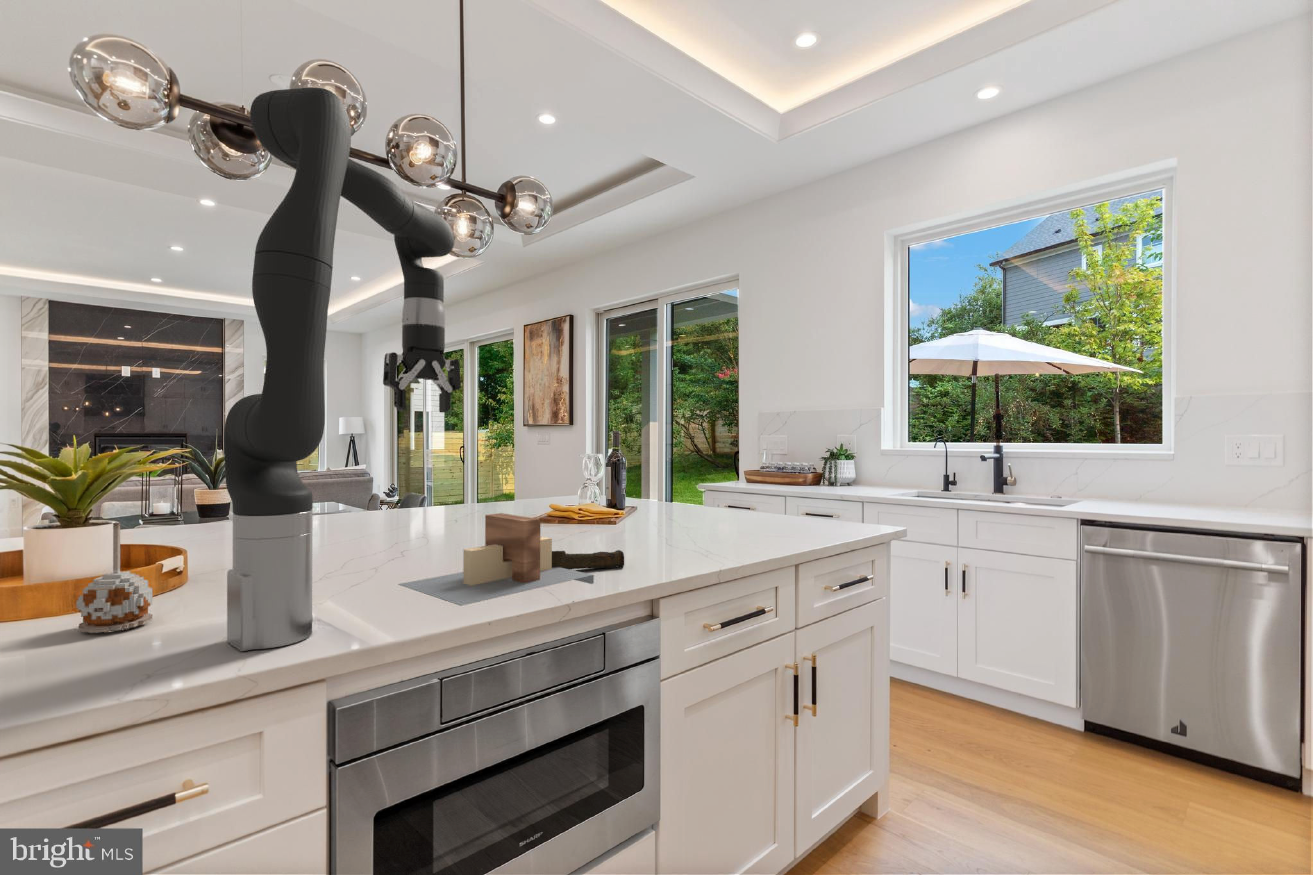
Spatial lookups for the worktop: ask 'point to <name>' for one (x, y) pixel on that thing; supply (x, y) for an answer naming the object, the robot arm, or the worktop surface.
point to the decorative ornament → (115, 598)
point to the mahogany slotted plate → (516, 543)
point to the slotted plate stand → (493, 576)
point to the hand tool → (588, 560)
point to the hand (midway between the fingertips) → (423, 411)
